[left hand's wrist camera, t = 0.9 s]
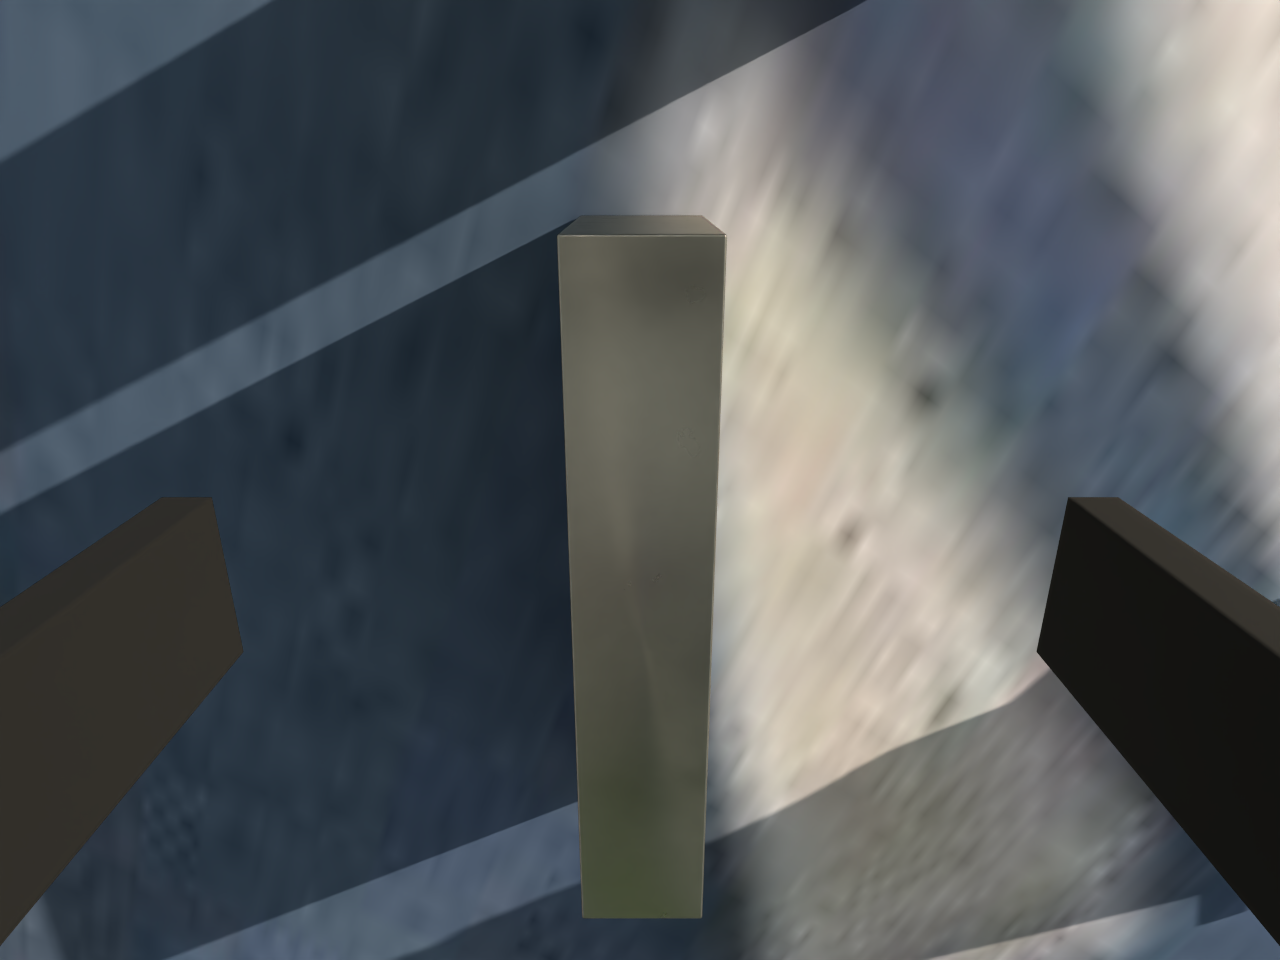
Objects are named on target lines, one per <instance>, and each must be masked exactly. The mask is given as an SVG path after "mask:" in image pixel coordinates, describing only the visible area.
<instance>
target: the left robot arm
mask: <svg viewBox="0 0 1280 960" xmlns="http://www.w3.org/2000/svg"><path fill="white" fill-rule="evenodd" d="M242 653H243V647H242V642H241V638H240V633H239V628H238V623H237V618H236V613H235V608H234V603H233V598H232V594H231V589H230V584H229V579H228V574H227V569H226V564H225V559H224V555H223V550H222V545H221V540H220V535H219V530H218V525H217V520H216V516H215V511H214V506H213V501H212V497H162V498H160V499H159V500H157V501H156V502H154V503H153V504H151V505H150V506H148V507H147V508H146V509H144V510H143V511H141V512H140V513H138V514H137V515H135V516H134V517H132V518H131V519H129V520H128V521H126V522H125V523H123V524H122V525H121V526H119V527H118V528H116V529H115V530H113V531H112V532H110V533H109V534H107V535H106V536H104V537H103V538H101V539H100V540H98V541H97V542H96V543H94V544H93V545H91V546H90V547H88V548H87V549H85V550H84V551H82V552H81V553H79V554H78V555H76V556H75V557H73V558H72V559H71V560H69V561H68V562H66V563H65V564H63V565H62V566H60V567H59V568H57V569H56V570H54V571H53V572H51V573H50V574H48V575H47V576H46V577H44V578H43V579H41V580H40V581H38V582H37V583H35V584H34V585H32V586H31V587H29V588H28V589H26V590H25V591H24V592H22V593H21V594H19V595H18V596H16V597H15V598H13V599H12V600H10V601H9V602H7V603H6V604H4V605H3V606H1V607H0V946H1V944H2V943H3V942H4V941H5V939H6V938H7V937H8V936H9V935H10V933H11V932H12V931H13V930H14V929H15V927H16V926H17V925H18V924H19V923H20V921H21V920H22V919H23V918H24V917H25V915H26V914H27V913H28V912H29V910H30V909H31V908H32V907H33V906H34V904H35V903H36V902H37V901H38V900H39V898H40V897H41V896H42V895H43V894H44V892H45V891H46V890H47V889H48V887H49V886H50V885H51V884H52V883H53V881H54V880H55V879H56V878H57V877H58V875H59V874H60V873H61V872H62V871H63V869H64V868H65V867H66V866H67V865H68V863H69V862H70V861H71V860H72V858H73V857H74V856H75V855H76V854H77V852H78V851H79V850H80V849H81V848H82V846H83V845H84V844H85V843H86V842H87V840H88V839H89V838H90V837H91V835H92V834H93V833H94V832H95V831H96V829H97V828H98V827H99V826H100V825H101V823H102V822H103V821H104V820H105V819H106V817H107V816H108V815H109V814H110V813H111V811H112V810H113V809H114V808H115V806H116V805H117V804H118V803H119V802H120V800H121V799H122V798H123V797H124V796H125V794H126V793H127V792H128V791H129V790H130V788H131V787H132V786H133V785H134V783H135V782H136V781H137V780H138V779H139V777H140V776H141V775H142V774H143V773H144V771H145V770H146V769H147V768H148V767H149V765H150V764H151V763H152V762H153V761H154V759H155V758H156V757H157V756H158V754H159V753H160V752H161V751H162V750H163V748H164V747H165V746H166V745H167V744H168V742H169V741H170V740H171V739H172V738H173V736H174V735H175V734H176V733H177V731H178V730H179V729H180V728H181V727H182V725H183V724H184V723H185V722H186V721H187V719H188V718H189V717H190V716H191V715H192V713H193V712H194V711H195V710H196V709H197V707H198V706H199V705H200V704H201V702H202V701H203V700H204V699H205V698H206V696H207V695H208V694H209V693H210V692H211V690H212V689H213V688H214V687H215V686H216V684H217V683H218V682H219V681H220V679H221V678H222V677H223V676H224V675H225V673H226V672H227V671H228V670H229V669H230V667H231V666H232V665H233V664H234V663H235V661H236V660H237V659H238V658H239V656H240V655H241V654H242ZM1037 653H1038V654H1039V655H1040V656H1041V658H1042V659H1043V660H1044V661H1045V663H1046V664H1047V665H1048V666H1049V667H1050V669H1051V670H1052V671H1053V672H1054V673H1055V675H1056V676H1057V677H1058V678H1059V679H1060V681H1061V682H1062V683H1063V684H1064V686H1065V687H1066V688H1067V689H1068V690H1069V692H1070V693H1071V694H1072V695H1073V696H1074V698H1075V699H1076V700H1077V701H1078V702H1079V704H1080V705H1081V706H1082V707H1083V709H1084V710H1085V711H1086V712H1087V713H1088V715H1089V716H1090V717H1091V718H1092V719H1093V721H1094V722H1095V723H1096V724H1097V725H1098V727H1099V728H1100V729H1101V730H1102V731H1103V733H1104V734H1105V735H1106V736H1107V738H1108V739H1109V740H1110V741H1111V742H1112V744H1113V745H1114V746H1115V747H1116V748H1117V750H1118V751H1119V752H1120V753H1121V754H1122V756H1123V757H1124V758H1125V759H1126V761H1127V762H1128V763H1129V764H1130V765H1131V767H1132V768H1133V769H1134V770H1135V771H1136V773H1137V774H1138V775H1139V776H1140V777H1141V779H1142V780H1143V781H1144V782H1145V783H1146V785H1147V786H1148V787H1149V788H1150V790H1151V791H1152V792H1153V793H1154V794H1155V796H1156V797H1157V798H1158V799H1159V800H1160V802H1161V803H1162V804H1163V805H1164V806H1165V808H1166V809H1167V810H1168V811H1169V813H1170V814H1171V815H1172V816H1173V817H1174V819H1175V820H1176V821H1177V822H1178V823H1179V825H1180V826H1181V827H1182V828H1183V829H1184V831H1185V832H1186V833H1187V834H1188V835H1189V837H1190V838H1191V839H1192V840H1193V842H1194V843H1195V844H1196V845H1197V846H1198V848H1199V849H1200V850H1201V851H1202V852H1203V854H1204V855H1205V856H1206V857H1207V858H1208V860H1209V861H1210V862H1211V863H1212V865H1213V866H1214V867H1215V868H1216V869H1217V871H1218V872H1219V873H1220V874H1221V875H1222V877H1223V878H1224V879H1225V880H1226V881H1227V883H1228V884H1229V885H1230V886H1231V887H1232V889H1233V890H1234V891H1235V892H1236V894H1237V895H1238V896H1239V897H1240V898H1241V900H1242V901H1243V902H1244V903H1245V904H1246V906H1247V907H1248V908H1249V909H1250V910H1251V912H1252V913H1253V914H1254V915H1255V917H1256V918H1257V919H1258V920H1259V921H1260V923H1261V924H1262V925H1263V926H1264V927H1265V929H1266V930H1267V931H1268V932H1269V933H1270V935H1271V936H1272V937H1273V938H1274V939H1275V941H1276V942H1277V943H1278V944H1279V946H1280V607H1279V606H1277V605H1276V604H1274V603H1273V602H1271V601H1270V600H1268V599H1267V598H1265V597H1264V596H1262V595H1261V594H1259V593H1258V592H1256V591H1255V590H1254V589H1252V588H1251V587H1249V586H1248V585H1246V584H1245V583H1243V582H1242V581H1240V580H1239V579H1237V578H1236V577H1234V576H1233V575H1232V574H1230V573H1229V572H1227V571H1226V570H1224V569H1223V568H1221V567H1220V566H1218V565H1217V564H1215V563H1214V562H1212V561H1211V560H1209V559H1208V558H1207V557H1205V556H1204V555H1202V554H1201V553H1199V552H1198V551H1196V550H1195V549H1193V548H1192V547H1190V546H1189V545H1187V544H1186V543H1184V542H1183V541H1182V540H1180V539H1179V538H1177V537H1176V536H1174V535H1173V534H1171V533H1170V532H1168V531H1167V530H1165V529H1164V528H1162V527H1161V526H1159V525H1158V524H1157V523H1155V522H1154V521H1152V520H1151V519H1149V518H1148V517H1146V516H1145V515H1143V514H1142V513H1140V512H1139V511H1137V510H1136V509H1134V508H1133V507H1132V506H1130V505H1129V504H1127V503H1126V502H1124V501H1123V500H1121V499H1120V498H1118V497H1068V501H1067V506H1066V511H1065V516H1064V520H1063V525H1062V530H1061V535H1060V540H1059V545H1058V550H1057V555H1056V559H1055V564H1054V569H1053V574H1052V579H1051V584H1050V589H1049V594H1048V598H1047V603H1046V608H1045V613H1044V618H1043V623H1042V628H1041V633H1040V638H1039V642H1038V647H1037Z"/></svg>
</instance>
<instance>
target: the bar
mask: <svg viewBox="0 0 1280 960" xmlns="http://www.w3.org/2000/svg"><path fill="white" fill-rule="evenodd" d="M726 247H727V236H726V234H725V233H723V232H722V231H721V230H720V229H718V228H717V227H716V226H715V225H713V224H712V223H711V222H710V221H708V220H707V219H706V218H705V217H703V216H702V215H653V216H580V217H578V218H577V219H576V220H575V221H574V222H572V223H571V224H570V225H569V226H568V227H566V228H565V229H564V230H563V231H562V232H560V233H559V234H558V235H557V253H558V280H559V307H560V334H561V361H562V388H563V415H564V442H565V469H566V496H567V522H568V549H569V576H570V603H571V630H572V657H573V684H574V711H575V738H576V765H577V792H578V819H579V846H580V873H581V900H582V917H583V918H702V904H703V876H704V849H705V821H706V794H707V767H708V739H709V712H710V685H711V657H712V630H713V602H714V575H715V548H716V520H717V493H718V466H719V438H720V411H721V383H722V356H723V329H724V301H725V274H726Z"/></svg>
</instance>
